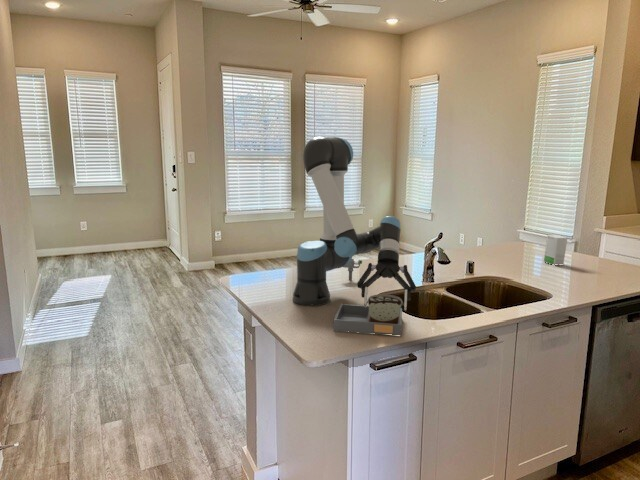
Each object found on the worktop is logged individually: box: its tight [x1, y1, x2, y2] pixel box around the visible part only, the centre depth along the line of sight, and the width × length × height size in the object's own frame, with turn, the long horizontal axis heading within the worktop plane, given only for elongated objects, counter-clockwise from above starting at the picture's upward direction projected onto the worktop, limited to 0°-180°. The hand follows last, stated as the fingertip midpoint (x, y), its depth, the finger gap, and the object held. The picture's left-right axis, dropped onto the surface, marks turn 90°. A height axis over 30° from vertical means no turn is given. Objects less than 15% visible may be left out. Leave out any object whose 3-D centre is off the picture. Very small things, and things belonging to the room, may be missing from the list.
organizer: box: [333, 303, 403, 336], centre depth 160 cm, size 22×17×4 cm
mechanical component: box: [342, 258, 363, 282], centre depth 214 cm, size 3×10×10 cm, turn 79°
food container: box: [367, 293, 404, 324], centre depth 157 cm, size 12×6×10 cm, turn 89°
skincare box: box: [543, 234, 568, 265], centre depth 249 cm, size 8×7×16 cm
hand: (384, 307), depth 156 cm, fingers open, 13 cm apart
